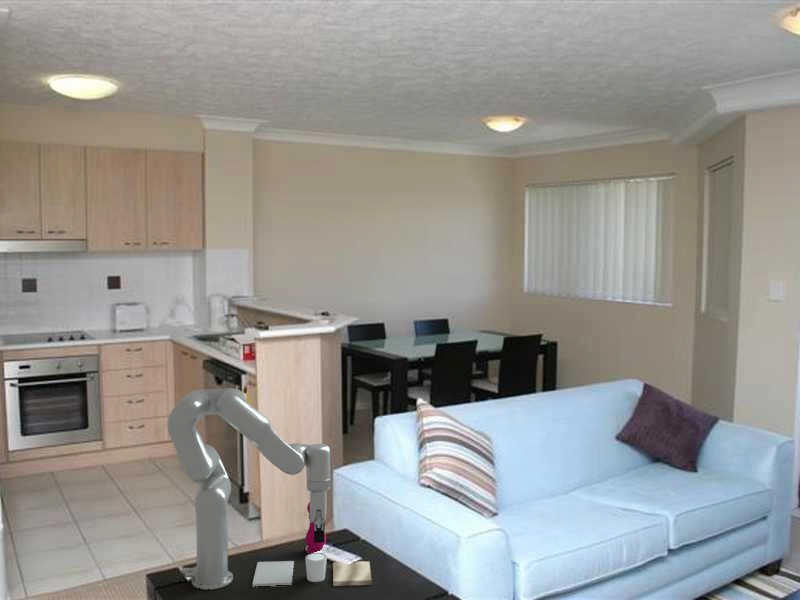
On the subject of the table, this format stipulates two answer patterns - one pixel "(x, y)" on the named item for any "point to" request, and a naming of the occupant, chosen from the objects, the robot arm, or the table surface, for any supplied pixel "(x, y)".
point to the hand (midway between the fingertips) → (319, 536)
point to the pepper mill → (312, 537)
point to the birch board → (351, 574)
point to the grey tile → (273, 573)
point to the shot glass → (316, 566)
